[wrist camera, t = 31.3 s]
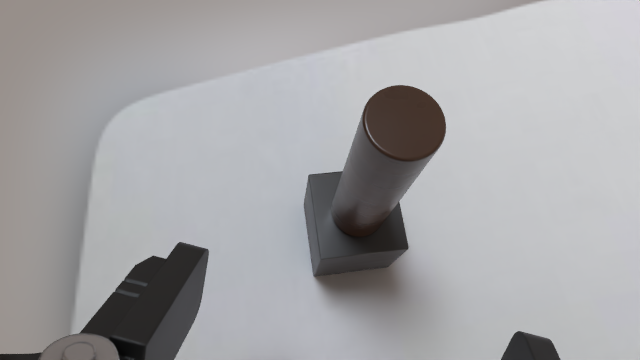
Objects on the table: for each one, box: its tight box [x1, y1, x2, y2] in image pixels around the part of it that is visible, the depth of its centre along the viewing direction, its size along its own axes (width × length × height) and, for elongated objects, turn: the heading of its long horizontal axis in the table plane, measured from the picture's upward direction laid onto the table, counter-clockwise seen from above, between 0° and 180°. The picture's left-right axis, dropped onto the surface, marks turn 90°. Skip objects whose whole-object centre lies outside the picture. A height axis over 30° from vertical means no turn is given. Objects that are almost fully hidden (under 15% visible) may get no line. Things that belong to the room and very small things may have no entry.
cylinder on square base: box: [304, 85, 446, 276], centre depth 18 cm, size 4×4×12 cm
